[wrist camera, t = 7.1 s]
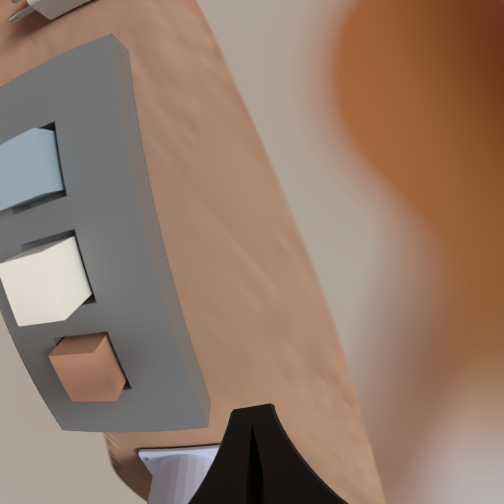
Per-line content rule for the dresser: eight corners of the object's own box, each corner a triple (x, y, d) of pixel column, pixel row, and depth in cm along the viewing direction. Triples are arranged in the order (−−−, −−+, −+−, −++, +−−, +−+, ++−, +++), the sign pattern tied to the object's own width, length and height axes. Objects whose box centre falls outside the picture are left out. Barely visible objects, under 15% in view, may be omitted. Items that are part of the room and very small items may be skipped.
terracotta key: (131, 368, 19) (117, 400, 16) (90, 371, 19) (72, 401, 16) (114, 323, 18) (94, 352, 15) (71, 329, 18) (48, 356, 15)
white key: (92, 293, 16) (65, 320, 13) (48, 301, 16) (18, 326, 13) (74, 235, 16) (41, 251, 12) (31, 248, 15) (-4, 264, 12)
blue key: (75, 188, 16) (43, 193, 13) (32, 202, 16) (-1, 211, 13) (65, 132, 15) (33, 127, 12) (24, 151, 15) (-11, 150, 12)
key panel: (210, 399, 21) (208, 427, 19) (75, 407, 21) (62, 430, 18) (128, 51, 15) (112, 33, 12) (-13, 117, 15) (-39, 114, 12)
